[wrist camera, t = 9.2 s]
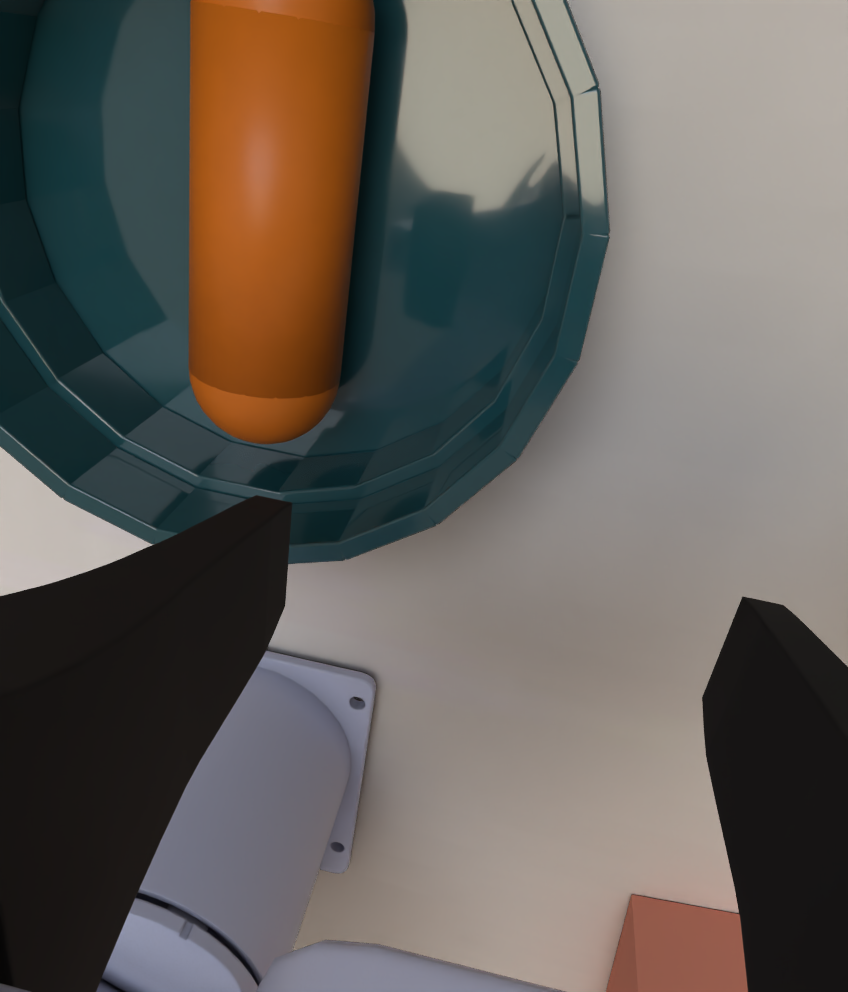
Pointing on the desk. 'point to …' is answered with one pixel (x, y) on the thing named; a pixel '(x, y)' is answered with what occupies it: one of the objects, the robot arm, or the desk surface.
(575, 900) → the desk surface
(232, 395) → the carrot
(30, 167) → the teal shallow bowl
